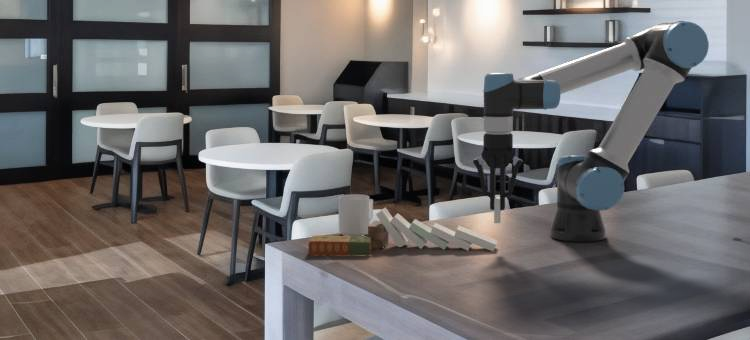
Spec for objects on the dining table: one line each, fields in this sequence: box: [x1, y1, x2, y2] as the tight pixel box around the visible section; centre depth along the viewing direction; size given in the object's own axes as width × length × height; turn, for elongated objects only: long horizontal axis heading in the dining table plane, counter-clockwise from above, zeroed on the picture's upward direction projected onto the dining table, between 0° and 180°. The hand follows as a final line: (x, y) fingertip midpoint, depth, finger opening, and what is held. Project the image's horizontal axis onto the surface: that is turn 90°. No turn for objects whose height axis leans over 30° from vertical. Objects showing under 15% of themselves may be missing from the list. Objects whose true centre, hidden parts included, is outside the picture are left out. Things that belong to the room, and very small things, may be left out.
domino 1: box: [375, 206, 409, 248], centre depth 233 cm, size 2×5×11 cm
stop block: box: [367, 220, 390, 249], centre depth 234 cm, size 4×8×6 cm, turn 168°
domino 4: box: [430, 222, 473, 252], centre depth 230 cm, size 2×5×11 cm
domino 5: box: [454, 225, 498, 252], centre depth 229 cm, size 2×5×11 cm
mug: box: [337, 193, 374, 236], centre depth 250 cm, size 12×9×11 cm
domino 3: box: [409, 218, 450, 251], centre depth 231 cm, size 2×5×11 cm
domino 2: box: [390, 213, 428, 250], centre depth 233 cm, size 2×5×11 cm
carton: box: [308, 235, 373, 257], centre depth 227 cm, size 8×16×4 cm, turn 87°
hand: (497, 222), depth 227 cm, fingers closed
